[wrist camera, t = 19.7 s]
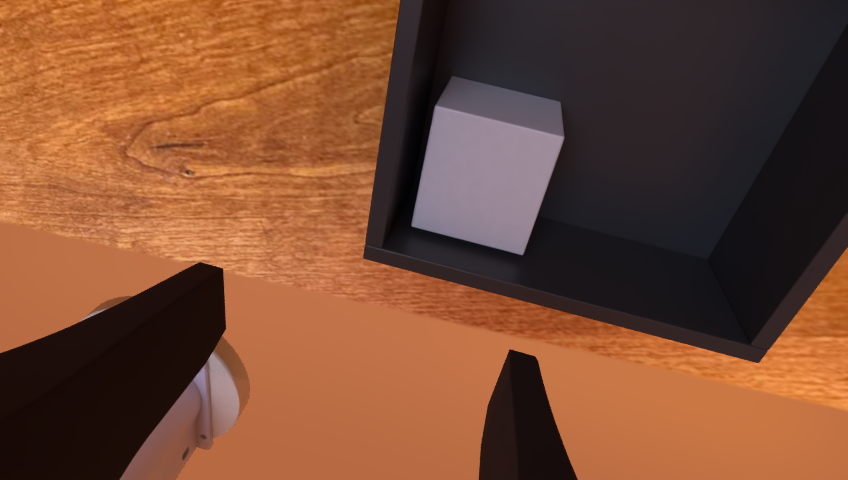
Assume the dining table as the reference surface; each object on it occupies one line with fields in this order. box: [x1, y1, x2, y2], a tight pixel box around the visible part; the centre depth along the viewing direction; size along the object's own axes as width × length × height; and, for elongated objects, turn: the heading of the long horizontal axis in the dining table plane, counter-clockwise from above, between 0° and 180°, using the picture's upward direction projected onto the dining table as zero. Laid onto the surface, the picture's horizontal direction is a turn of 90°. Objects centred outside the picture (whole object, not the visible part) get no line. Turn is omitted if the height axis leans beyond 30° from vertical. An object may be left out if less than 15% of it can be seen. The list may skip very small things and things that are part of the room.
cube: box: [411, 76, 564, 255], centre depth 18 cm, size 4×4×4 cm
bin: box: [363, 0, 848, 363], centre depth 16 cm, size 13×13×6 cm
